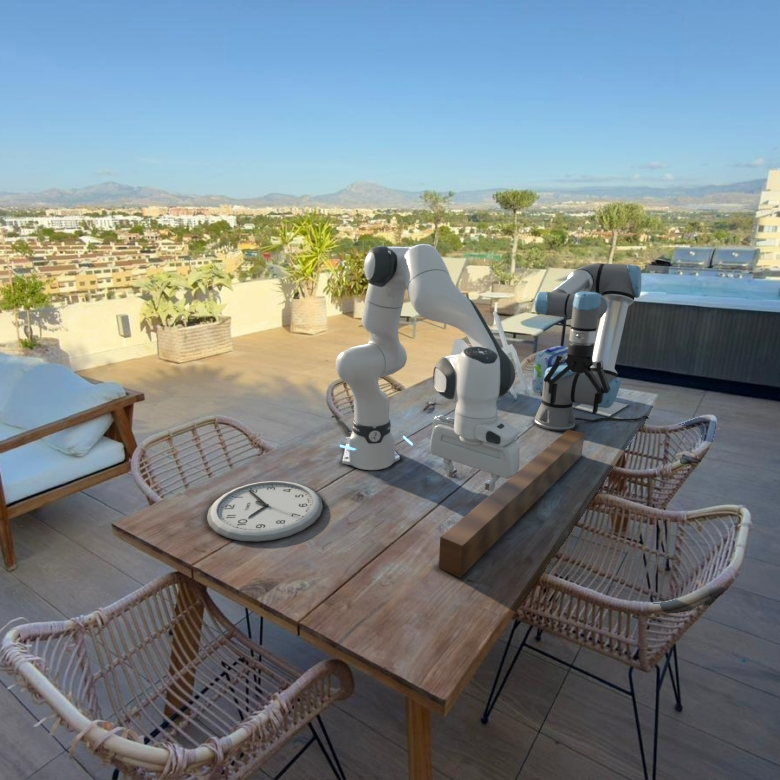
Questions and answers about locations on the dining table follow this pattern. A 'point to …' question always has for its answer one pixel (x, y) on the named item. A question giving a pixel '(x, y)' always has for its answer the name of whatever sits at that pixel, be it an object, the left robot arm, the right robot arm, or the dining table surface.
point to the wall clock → (264, 511)
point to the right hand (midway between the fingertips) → (573, 407)
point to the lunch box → (545, 365)
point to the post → (506, 505)
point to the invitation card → (603, 411)
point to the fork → (430, 403)
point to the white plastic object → (508, 350)
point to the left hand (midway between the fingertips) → (470, 482)
